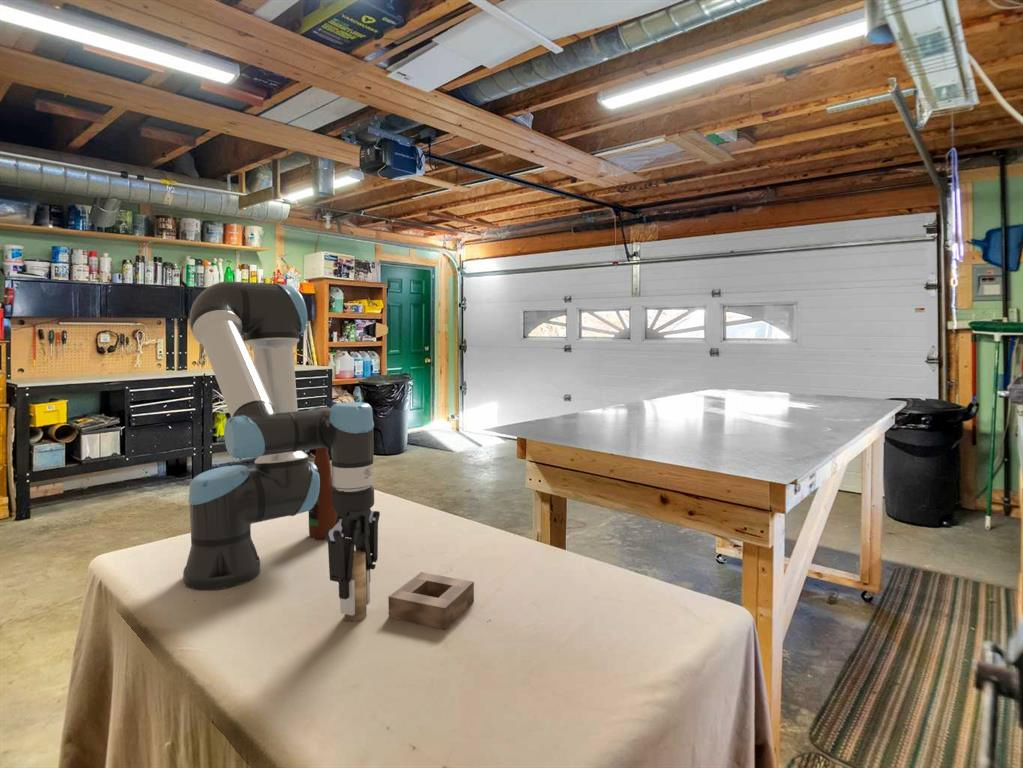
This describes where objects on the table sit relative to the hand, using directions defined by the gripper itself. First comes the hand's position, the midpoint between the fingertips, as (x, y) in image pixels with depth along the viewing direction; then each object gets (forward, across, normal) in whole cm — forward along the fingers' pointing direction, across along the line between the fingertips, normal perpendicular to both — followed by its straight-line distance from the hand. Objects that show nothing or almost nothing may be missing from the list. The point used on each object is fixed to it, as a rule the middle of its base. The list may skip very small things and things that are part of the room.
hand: (355, 607), depth 109 cm
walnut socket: (+2, +8, -12) cm, 15 cm away
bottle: (+2, +33, +34) cm, 48 cm away
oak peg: (+2, 0, 0) cm, 2 cm away
